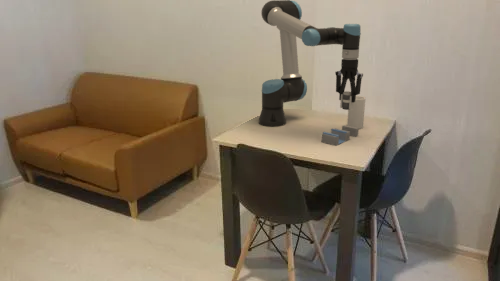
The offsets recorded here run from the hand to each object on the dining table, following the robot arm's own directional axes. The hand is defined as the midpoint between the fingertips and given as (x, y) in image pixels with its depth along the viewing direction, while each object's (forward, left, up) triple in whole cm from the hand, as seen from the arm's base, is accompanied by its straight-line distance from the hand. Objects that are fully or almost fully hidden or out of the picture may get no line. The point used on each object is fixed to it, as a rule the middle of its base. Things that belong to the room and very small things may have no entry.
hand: (346, 107), depth 192 cm
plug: (0, 0, 0) cm, 0 cm away
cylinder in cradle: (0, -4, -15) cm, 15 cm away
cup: (-5, +19, -15) cm, 24 cm away
